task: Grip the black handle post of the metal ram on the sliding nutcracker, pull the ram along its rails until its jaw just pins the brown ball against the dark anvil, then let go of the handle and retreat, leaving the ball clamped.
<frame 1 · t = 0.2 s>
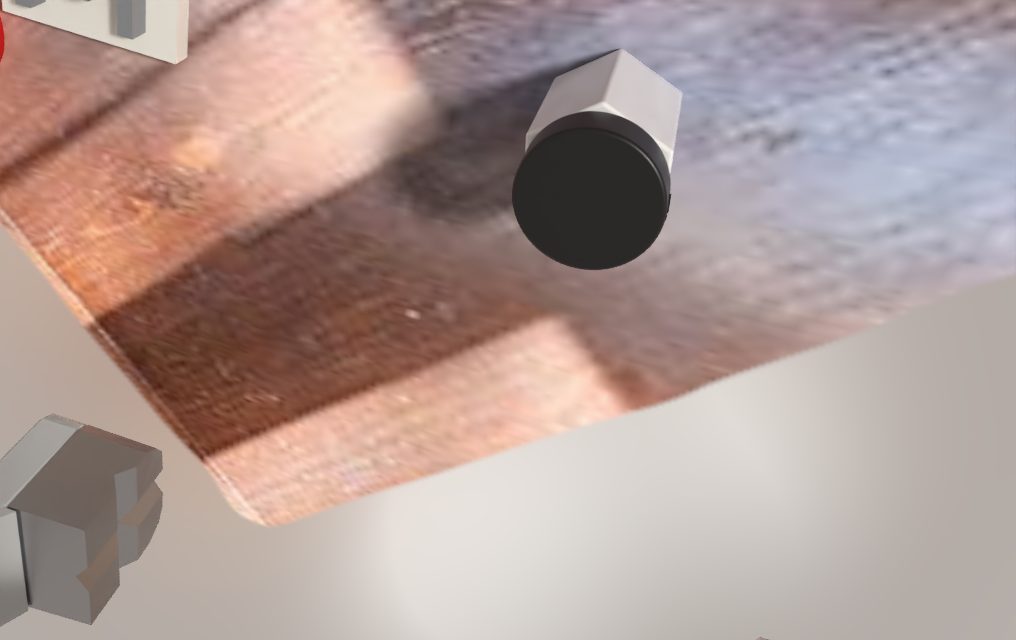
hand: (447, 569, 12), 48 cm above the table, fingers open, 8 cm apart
jar: (614, 118, 59), on the table
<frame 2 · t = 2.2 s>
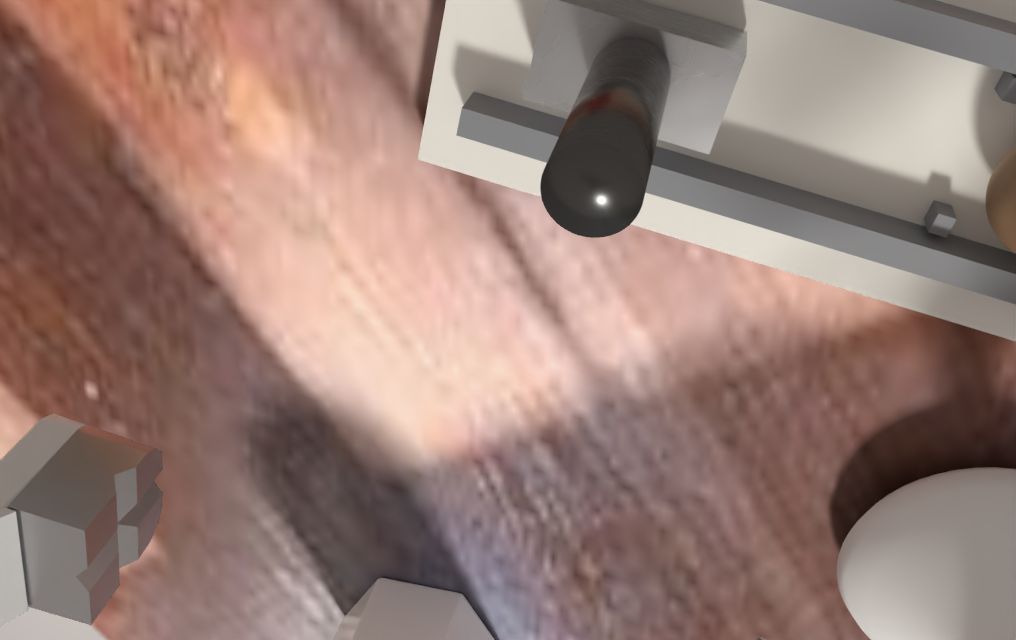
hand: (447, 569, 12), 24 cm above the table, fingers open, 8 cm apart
flower in vase: (954, 544, 40), on the table
ram: (618, 111, 26), point 7 cm above the table, slide at 0.0 cm
jar: (423, 629, 51), on the table
sliding nutcracker: (818, 89, 31), on the table
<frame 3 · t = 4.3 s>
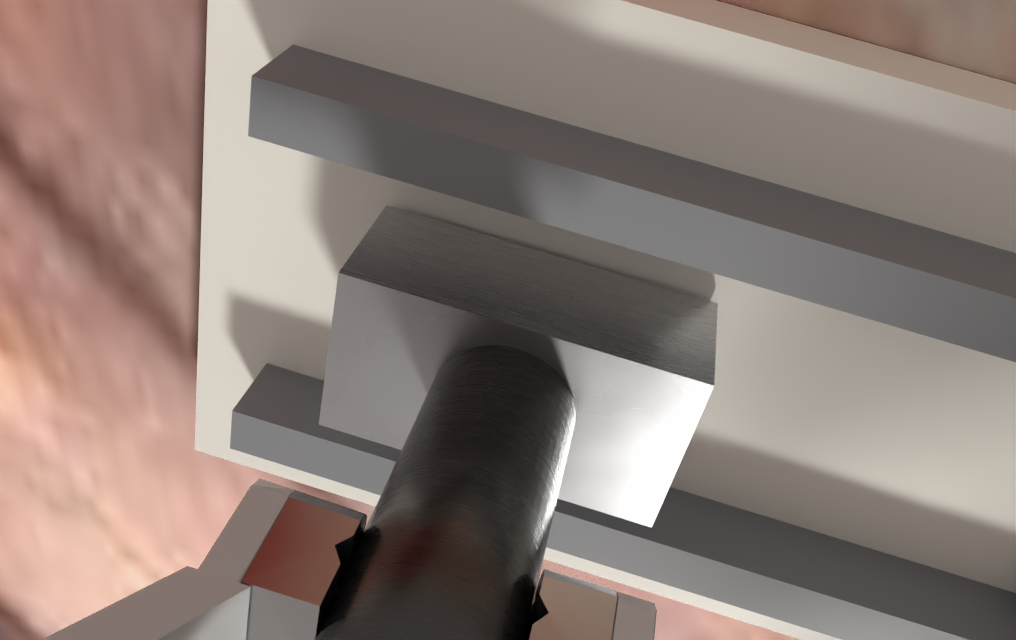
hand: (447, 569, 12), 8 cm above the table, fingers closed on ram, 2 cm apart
ram: (460, 530, 13), point 7 cm above the table, slide at 0.0 cm, touching gripper
sliding nutcracker: (840, 368, 18), on the table
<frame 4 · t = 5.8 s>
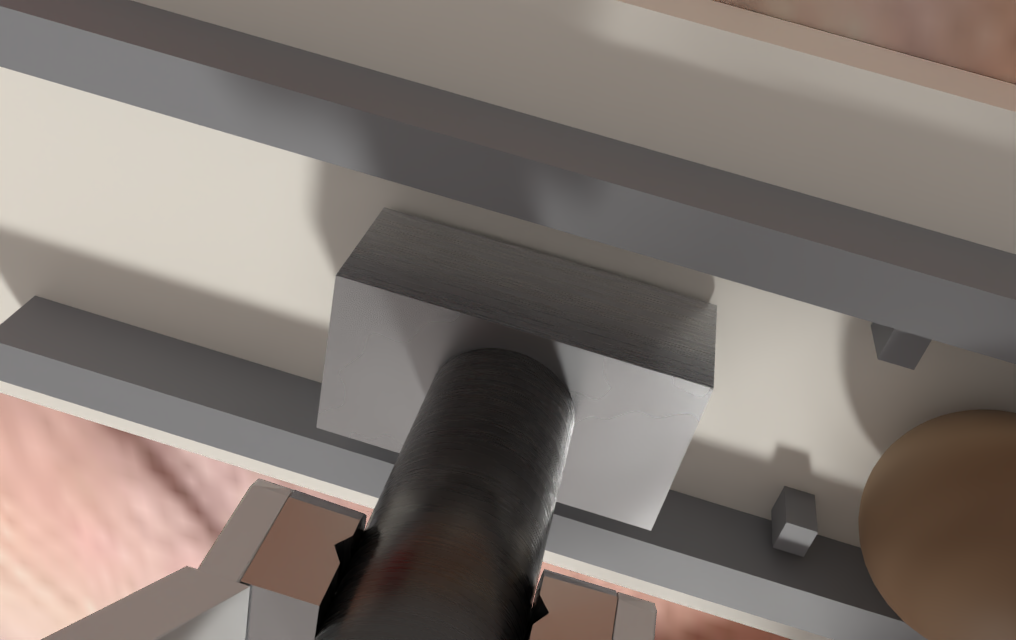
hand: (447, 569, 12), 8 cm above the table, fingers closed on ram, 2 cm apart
ram: (458, 534, 13), point 7 cm above the table, slide at 5.0 cm, touching gripper
brown ball: (965, 452, 17), point 1 cm above the table, touching sliding nutcracker
sliding nutcracker: (591, 296, 19), on the table
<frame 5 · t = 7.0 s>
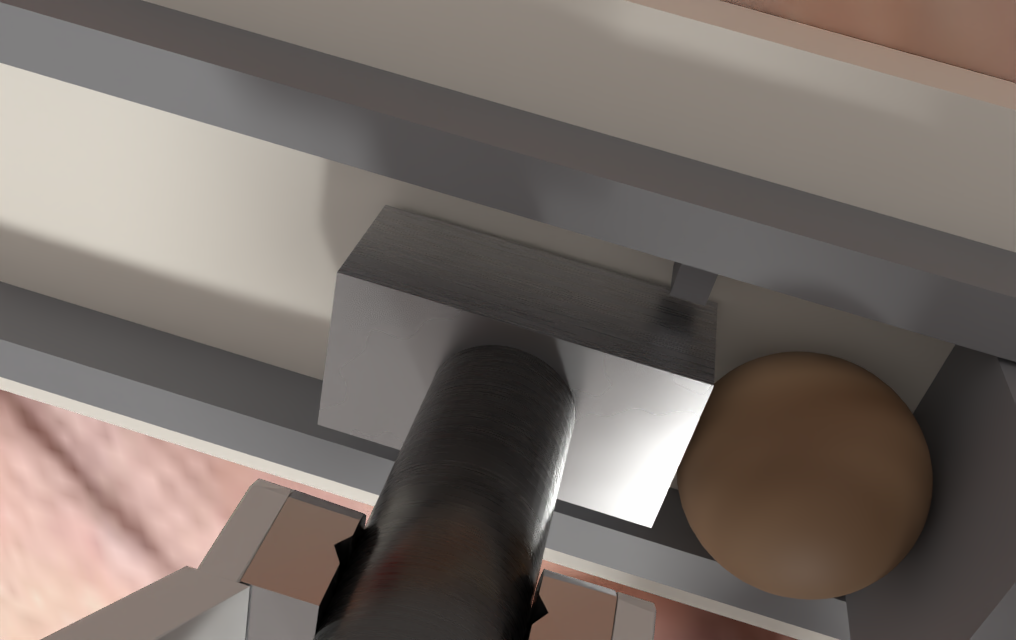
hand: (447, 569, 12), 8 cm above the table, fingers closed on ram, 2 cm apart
ram: (459, 530, 13), point 7 cm above the table, slide at 8.5 cm, touching gripper, brown ball
brown ball: (778, 395, 17), point 2 cm above the table, tilted 9°, touching sliding nutcracker, ram
sliding nutcracker: (424, 244, 19), on the table
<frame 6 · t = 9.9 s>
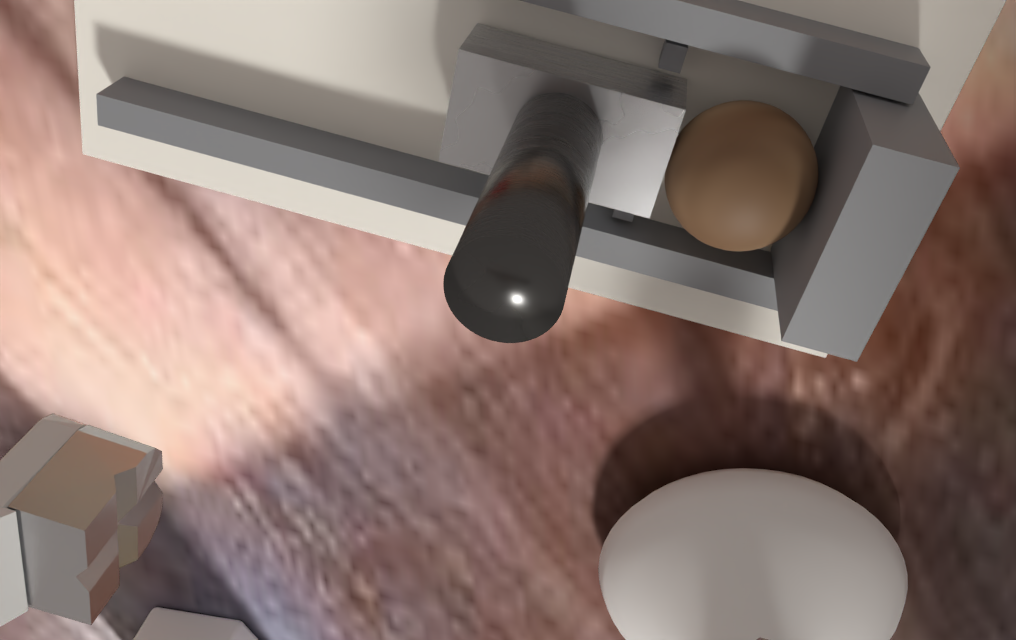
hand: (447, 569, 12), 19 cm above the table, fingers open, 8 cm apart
flower in vase: (725, 550, 38), on the table
ram: (542, 180, 23), point 7 cm above the table, slide at 8.5 cm, touching brown ball
brown ball: (727, 145, 27), point 2 cm above the table, tilted 8°, touching sliding nutcracker, ram
sliding nutcracker: (494, 63, 28), on the table
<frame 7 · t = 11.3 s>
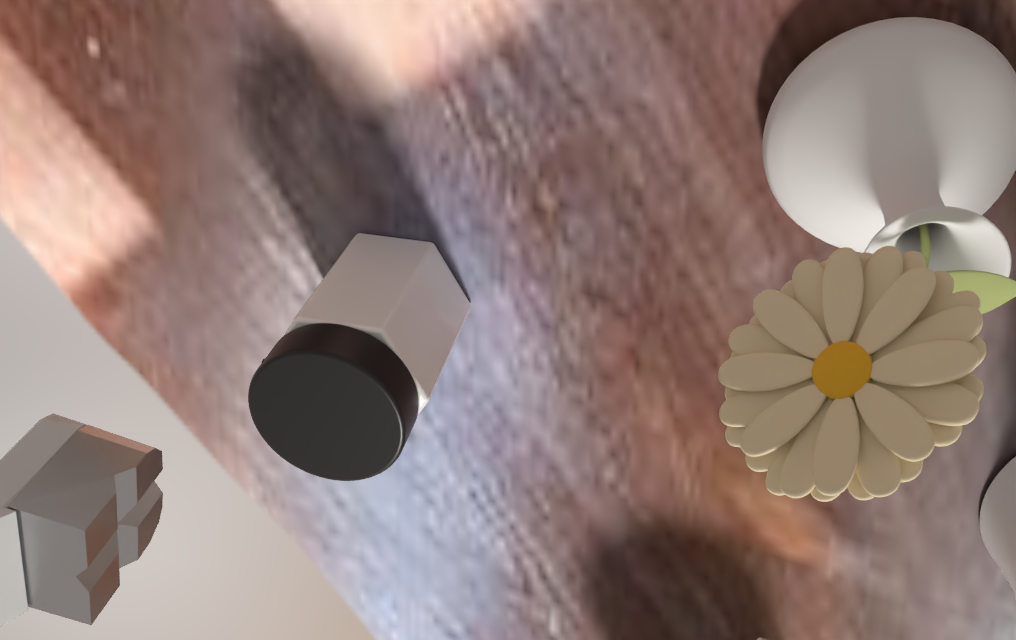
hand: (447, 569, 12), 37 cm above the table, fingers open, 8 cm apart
flower in vase: (866, 130, 45), on the table
jar: (399, 292, 56), on the table
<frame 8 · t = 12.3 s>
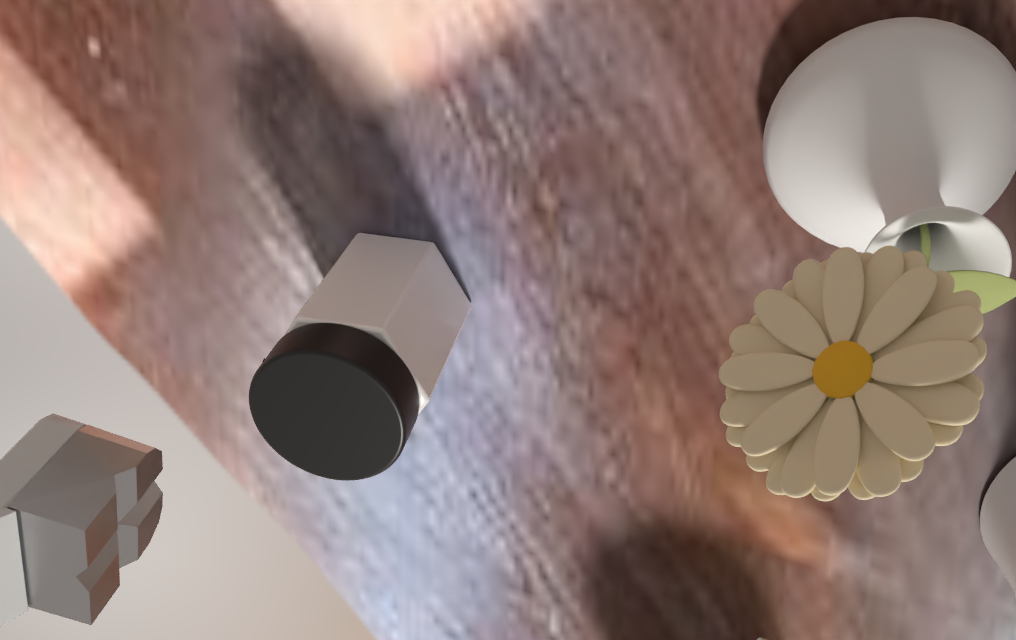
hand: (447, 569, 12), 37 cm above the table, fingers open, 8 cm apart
flower in vase: (867, 130, 45), on the table
jar: (400, 292, 56), on the table
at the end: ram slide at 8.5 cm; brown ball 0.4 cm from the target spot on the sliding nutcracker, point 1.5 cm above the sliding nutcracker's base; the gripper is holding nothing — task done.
